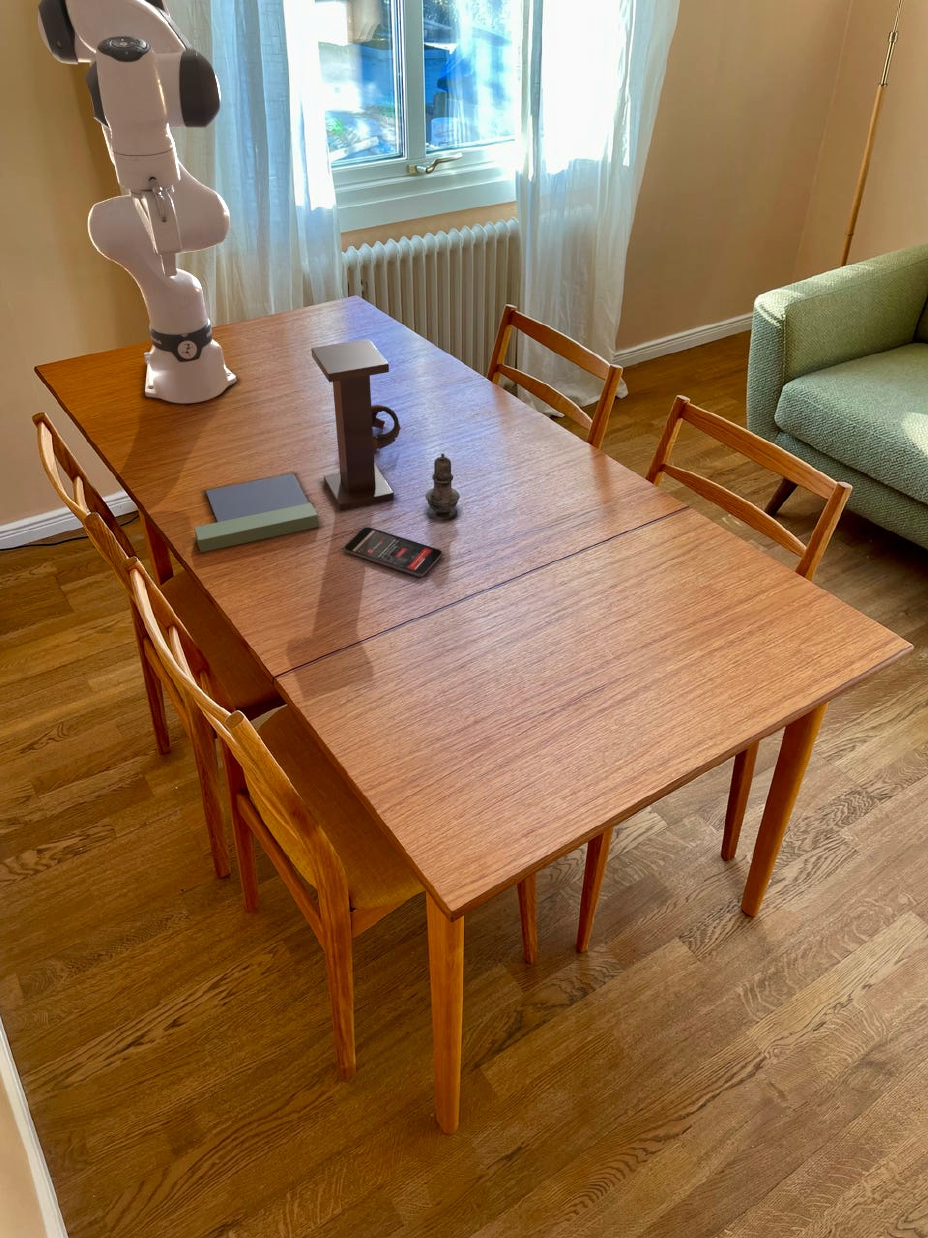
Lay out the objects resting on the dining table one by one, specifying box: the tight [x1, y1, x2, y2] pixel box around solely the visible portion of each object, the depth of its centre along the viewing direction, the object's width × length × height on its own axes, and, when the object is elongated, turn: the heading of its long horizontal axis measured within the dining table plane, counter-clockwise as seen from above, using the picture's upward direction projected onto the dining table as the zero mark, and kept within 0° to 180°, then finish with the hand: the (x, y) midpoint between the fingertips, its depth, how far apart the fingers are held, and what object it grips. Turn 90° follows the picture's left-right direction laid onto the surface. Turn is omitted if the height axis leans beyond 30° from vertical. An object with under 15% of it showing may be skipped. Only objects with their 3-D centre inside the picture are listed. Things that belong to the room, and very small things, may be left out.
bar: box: [193, 502, 319, 553], centre depth 159 cm, size 4×20×2 cm, turn 113°
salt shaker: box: [425, 452, 461, 523], centre depth 161 cm, size 6×6×12 cm
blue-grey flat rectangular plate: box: [205, 472, 309, 523], centre depth 167 cm, size 11×16×1 cm
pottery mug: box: [371, 404, 402, 453], centre depth 181 cm, size 12×10×8 cm
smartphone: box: [343, 526, 443, 578], centre depth 156 cm, size 7×1×15 cm
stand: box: [310, 338, 395, 512], centre depth 161 cm, size 10×10×26 cm
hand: (165, 263), depth 147 cm, fingers open, 8 cm apart
